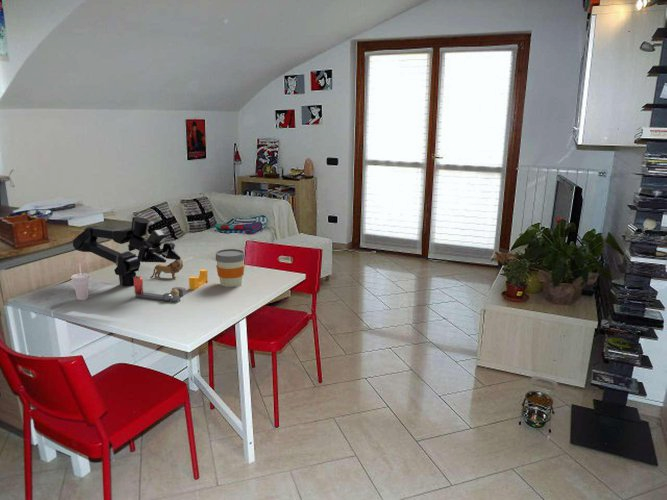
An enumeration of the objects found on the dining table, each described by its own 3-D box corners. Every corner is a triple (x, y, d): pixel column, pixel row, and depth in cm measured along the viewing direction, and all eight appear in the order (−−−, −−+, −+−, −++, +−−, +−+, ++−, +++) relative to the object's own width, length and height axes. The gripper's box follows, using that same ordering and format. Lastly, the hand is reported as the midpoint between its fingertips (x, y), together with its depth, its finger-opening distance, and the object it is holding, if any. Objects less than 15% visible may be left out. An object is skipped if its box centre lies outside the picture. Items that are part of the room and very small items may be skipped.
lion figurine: (184, 276, 231) (183, 257, 228) (183, 279, 226) (182, 260, 223) (150, 277, 228) (149, 258, 225) (149, 281, 223) (147, 262, 220)
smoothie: (95, 297, 203) (91, 263, 199) (82, 302, 197) (78, 268, 193) (82, 294, 205) (78, 262, 201) (69, 300, 199) (65, 266, 195)
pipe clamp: (198, 283, 222) (198, 269, 221) (207, 283, 221) (207, 270, 220) (185, 292, 211) (185, 277, 209) (195, 292, 210) (194, 278, 208)
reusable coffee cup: (225, 292, 211) (224, 258, 207) (211, 284, 220) (209, 251, 216) (251, 286, 219) (250, 253, 215) (236, 279, 228) (235, 247, 224)
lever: (133, 297, 199) (131, 278, 197) (138, 294, 203) (137, 276, 201) (176, 303, 195) (175, 283, 193) (181, 300, 198) (180, 280, 196)
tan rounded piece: (168, 298, 200) (168, 290, 199) (173, 295, 203) (173, 287, 202) (176, 299, 199) (175, 291, 198) (181, 296, 202) (180, 288, 201)
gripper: (132, 228, 196) (163, 243, 192) (163, 225, 214) (192, 239, 209) (125, 254, 199) (155, 270, 194) (156, 249, 216) (185, 264, 212)
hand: (173, 260), depth 202 cm, fingers open, 9 cm apart
